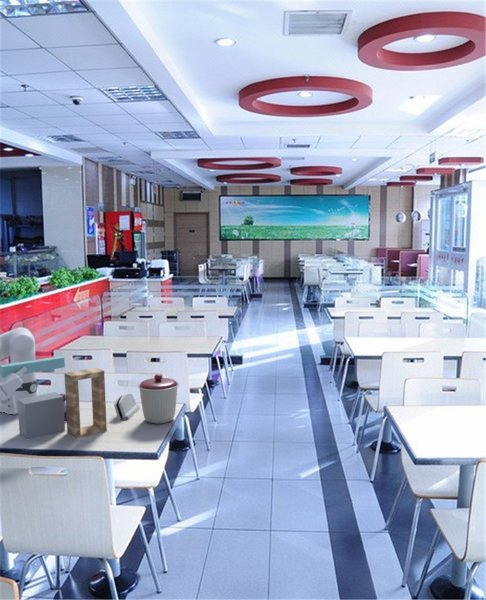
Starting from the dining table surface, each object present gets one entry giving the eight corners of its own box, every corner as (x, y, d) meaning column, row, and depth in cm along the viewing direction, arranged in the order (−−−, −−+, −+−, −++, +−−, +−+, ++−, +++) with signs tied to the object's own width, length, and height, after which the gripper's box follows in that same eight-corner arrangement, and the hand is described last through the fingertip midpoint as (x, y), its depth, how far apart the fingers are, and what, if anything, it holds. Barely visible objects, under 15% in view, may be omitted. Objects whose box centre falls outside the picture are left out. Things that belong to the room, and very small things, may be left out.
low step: (26, 439, 225) (24, 404, 223) (19, 434, 232) (17, 399, 230) (65, 430, 235) (63, 396, 233) (56, 425, 242) (55, 392, 240)
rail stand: (75, 438, 226) (72, 376, 223) (67, 433, 232) (64, 372, 229) (106, 430, 235) (104, 370, 232) (98, 425, 241) (95, 367, 238)
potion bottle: (71, 416, 254) (70, 390, 253) (73, 421, 246) (72, 395, 245) (52, 418, 251) (50, 392, 250) (53, 424, 243) (52, 398, 242)
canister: (177, 426, 239) (176, 379, 236) (135, 427, 238) (134, 379, 236) (181, 413, 257) (180, 369, 254) (142, 413, 256) (141, 369, 254)
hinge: (128, 419, 248) (120, 399, 248) (119, 423, 249) (111, 402, 248) (140, 408, 265) (133, 389, 264) (132, 411, 265) (124, 392, 265)
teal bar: (3, 377, 209) (2, 367, 208) (0, 375, 212) (-1, 365, 211) (64, 367, 224) (64, 357, 224) (60, 365, 227) (60, 356, 227)
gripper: (-12, 390, 218) (18, 368, 225) (5, 401, 202) (37, 377, 209) (-21, 378, 215) (10, 356, 222) (-5, 388, 199) (27, 364, 206)
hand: (23, 366), depth 215 cm, fingers closed on teal bar, 4 cm apart
